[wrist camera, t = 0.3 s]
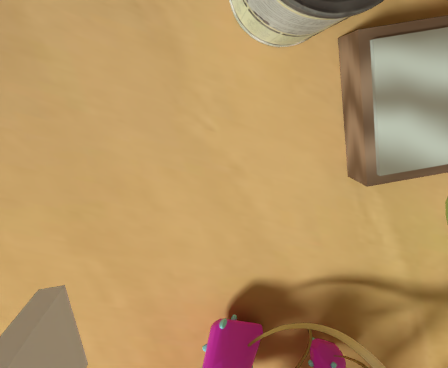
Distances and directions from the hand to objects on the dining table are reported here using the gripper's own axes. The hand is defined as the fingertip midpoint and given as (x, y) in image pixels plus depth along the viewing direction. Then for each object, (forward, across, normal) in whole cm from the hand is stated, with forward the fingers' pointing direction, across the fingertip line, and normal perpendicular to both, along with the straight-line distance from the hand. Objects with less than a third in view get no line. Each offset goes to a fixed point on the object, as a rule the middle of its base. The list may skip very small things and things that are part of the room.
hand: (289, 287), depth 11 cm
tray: (+26, +20, +2) cm, 33 cm away
